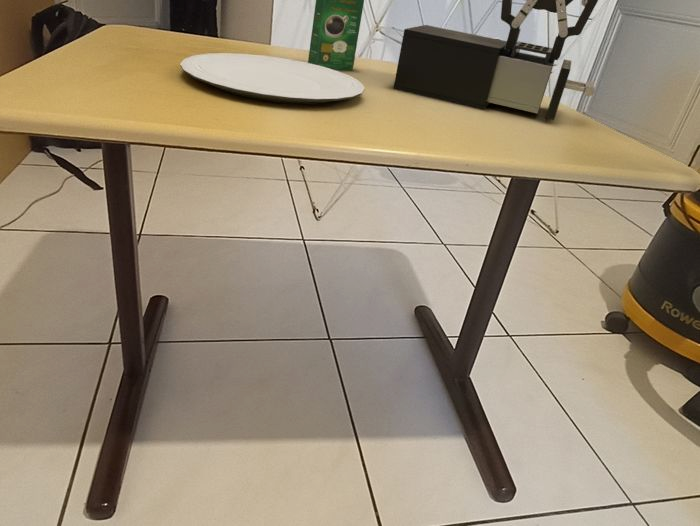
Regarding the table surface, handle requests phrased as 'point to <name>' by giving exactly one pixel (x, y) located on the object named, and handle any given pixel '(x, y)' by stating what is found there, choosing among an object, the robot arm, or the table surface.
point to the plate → (272, 78)
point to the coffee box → (335, 33)
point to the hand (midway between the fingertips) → (530, 58)
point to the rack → (531, 50)
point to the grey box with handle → (530, 83)
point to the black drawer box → (447, 65)
